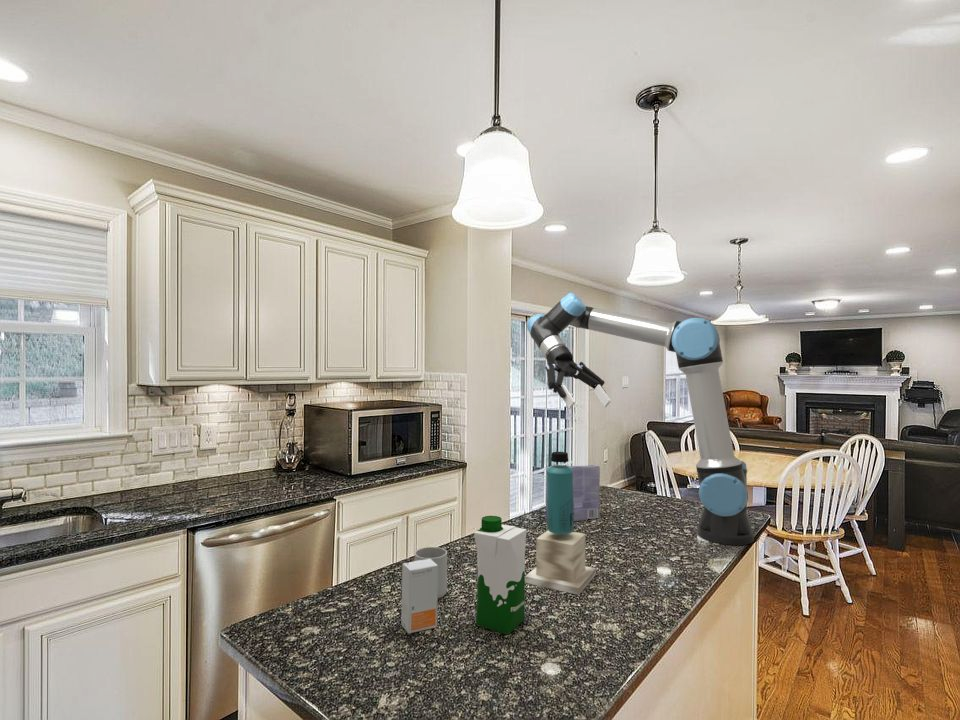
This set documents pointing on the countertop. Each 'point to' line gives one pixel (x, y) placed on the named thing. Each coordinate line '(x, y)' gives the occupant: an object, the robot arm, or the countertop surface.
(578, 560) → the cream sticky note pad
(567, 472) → the beverage bottle
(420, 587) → the skincare box
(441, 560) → the cup
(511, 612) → the milk carton
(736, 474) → the robot arm
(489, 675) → the countertop surface
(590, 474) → the cake pan box
